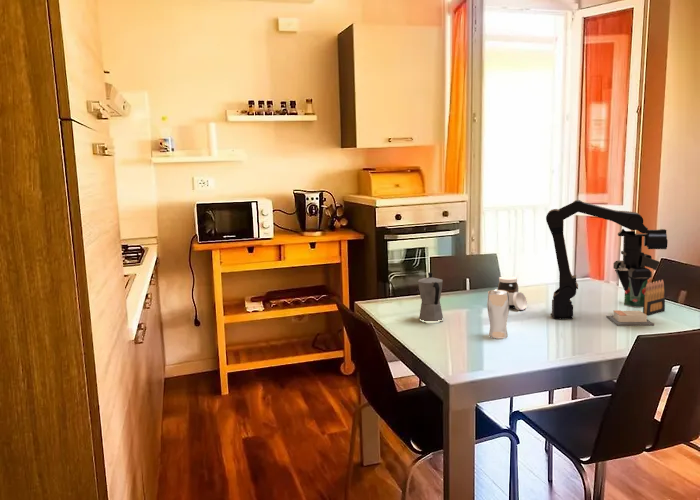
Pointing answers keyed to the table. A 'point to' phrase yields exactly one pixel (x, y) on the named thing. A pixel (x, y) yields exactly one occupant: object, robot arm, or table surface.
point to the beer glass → (498, 313)
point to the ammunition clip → (654, 298)
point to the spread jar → (512, 292)
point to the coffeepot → (430, 298)
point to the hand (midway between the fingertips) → (630, 293)
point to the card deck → (629, 316)
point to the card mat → (630, 322)
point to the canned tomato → (635, 300)
